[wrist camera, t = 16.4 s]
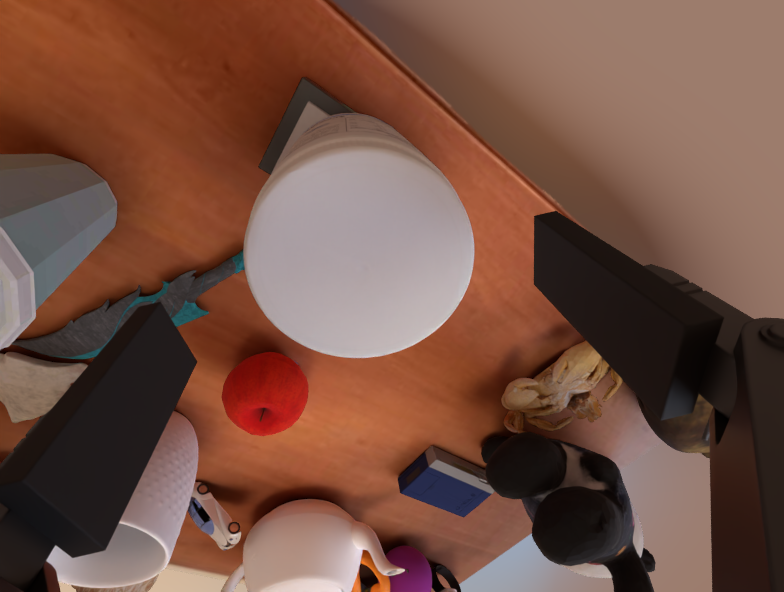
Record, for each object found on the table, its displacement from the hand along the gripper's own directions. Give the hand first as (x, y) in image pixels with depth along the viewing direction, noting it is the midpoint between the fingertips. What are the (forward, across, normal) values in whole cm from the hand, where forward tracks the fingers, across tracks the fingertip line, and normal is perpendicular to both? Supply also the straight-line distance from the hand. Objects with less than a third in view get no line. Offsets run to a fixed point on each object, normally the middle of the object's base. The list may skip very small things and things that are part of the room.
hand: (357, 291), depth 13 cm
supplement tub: (+17, 0, 0) cm, 17 cm away
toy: (+6, +10, -26) cm, 28 cm away
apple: (+20, -12, -18) cm, 30 cm away
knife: (+20, -21, -8) cm, 30 cm away
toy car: (+17, -25, -37) cm, 47 cm away
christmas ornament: (+20, -6, -59) cm, 62 cm away
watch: (+18, +1, -68) cm, 70 cm away
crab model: (+13, +20, -30) cm, 39 cm away
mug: (+20, -27, -22) cm, 40 cm away
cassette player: (+18, -1, -38) cm, 42 cm away
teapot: (+20, -17, -45) cm, 52 cm away
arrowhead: (+19, -30, -10) cm, 37 cm away
